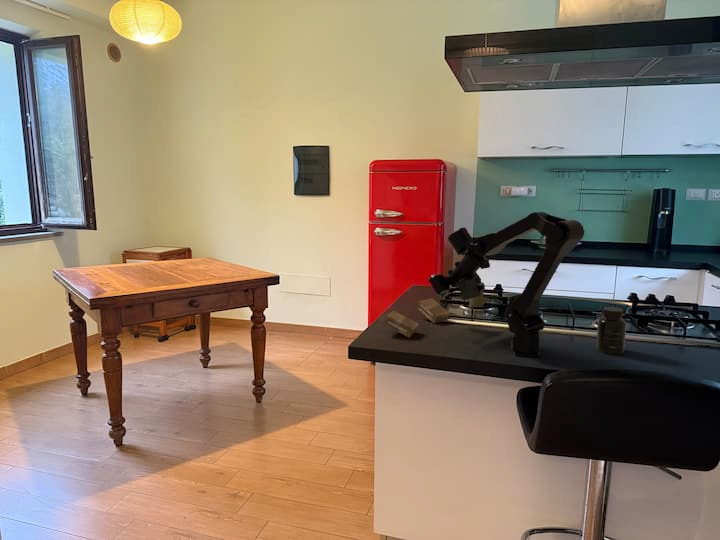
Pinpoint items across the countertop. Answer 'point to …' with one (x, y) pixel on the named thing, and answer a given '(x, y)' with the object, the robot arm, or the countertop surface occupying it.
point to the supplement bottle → (611, 331)
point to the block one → (401, 324)
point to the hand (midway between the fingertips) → (442, 296)
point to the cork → (477, 300)
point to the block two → (433, 310)
